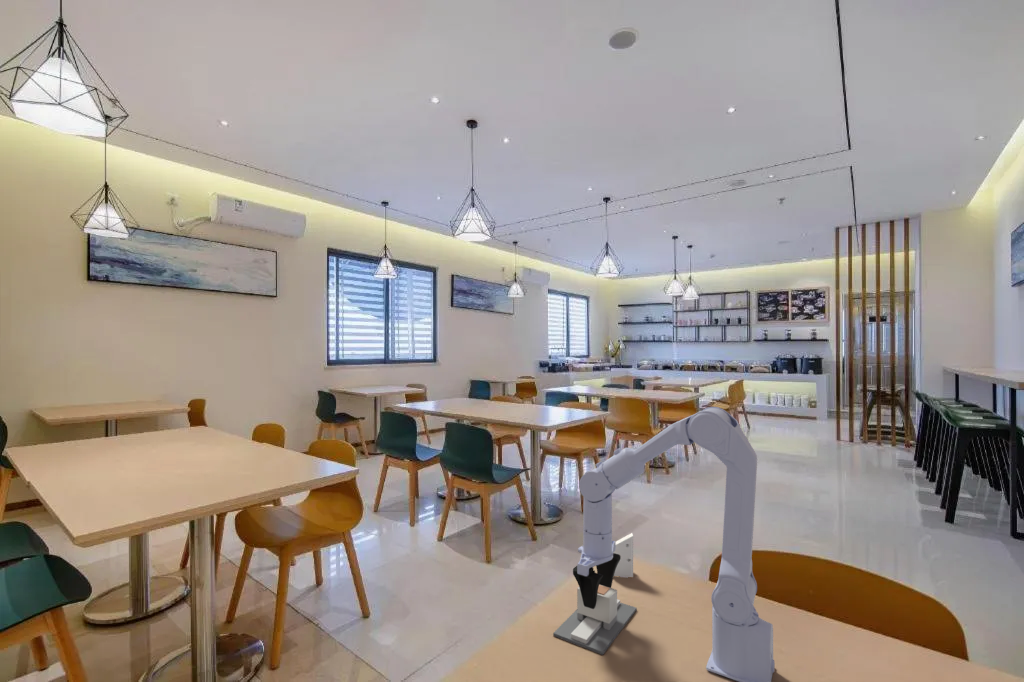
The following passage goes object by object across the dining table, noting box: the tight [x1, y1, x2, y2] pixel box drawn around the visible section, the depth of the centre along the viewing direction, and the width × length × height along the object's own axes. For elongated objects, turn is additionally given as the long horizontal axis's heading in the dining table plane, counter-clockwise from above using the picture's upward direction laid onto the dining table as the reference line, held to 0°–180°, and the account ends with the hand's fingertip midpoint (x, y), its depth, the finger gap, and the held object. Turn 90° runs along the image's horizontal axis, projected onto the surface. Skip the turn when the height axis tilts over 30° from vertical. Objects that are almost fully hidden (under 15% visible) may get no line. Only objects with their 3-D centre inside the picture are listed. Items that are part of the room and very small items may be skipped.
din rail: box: [552, 598, 638, 656], centre depth 93 cm, size 10×18×1 cm, turn 146°
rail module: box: [576, 585, 618, 630], centre depth 93 cm, size 7×4×6 cm, turn 56°
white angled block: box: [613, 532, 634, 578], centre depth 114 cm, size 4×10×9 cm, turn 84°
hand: (597, 598), depth 93 cm, fingers open, 7 cm apart
